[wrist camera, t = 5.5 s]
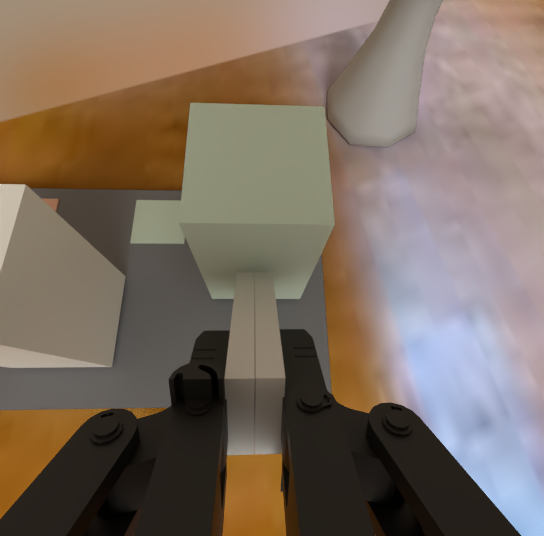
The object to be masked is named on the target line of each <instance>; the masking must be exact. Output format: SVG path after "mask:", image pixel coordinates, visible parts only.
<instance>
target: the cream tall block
mask: <svg viewBox="0 0 544 536" xmlns="http://www.w3.org/2000/svg"><path fill="white" fill-rule="evenodd" d="M125 277H126V276H125V275H124V274H122V273H121V272H120V271H119V270H118V269H117V268H116V267H115V266H114V265H113V264H112V263H110V262H109V261H108V260H107V259H106V258H105V257H104V256H103V255H102V254H101V253H100V252H99V251H97V250H96V249H95V248H94V247H93V246H92V245H91V244H90V243H89V242H88V241H87V240H86V239H84V238H83V237H82V236H81V235H80V234H79V233H78V232H77V231H76V230H75V229H74V228H73V227H71V226H70V225H69V224H68V223H67V222H66V221H65V220H64V219H63V218H62V217H61V216H60V215H58V214H57V213H56V212H55V211H54V210H53V209H52V208H51V207H50V206H49V205H48V204H46V203H45V202H44V201H43V200H42V199H41V198H40V197H39V196H38V195H37V194H36V193H35V192H33V191H32V190H31V189H30V188H29V187H28V186H27V185H26V184H0V367H8V368H61V367H112V364H113V357H114V350H115V344H116V337H117V330H118V324H119V317H120V310H121V303H122V297H123V290H124V283H125Z"/></svg>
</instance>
